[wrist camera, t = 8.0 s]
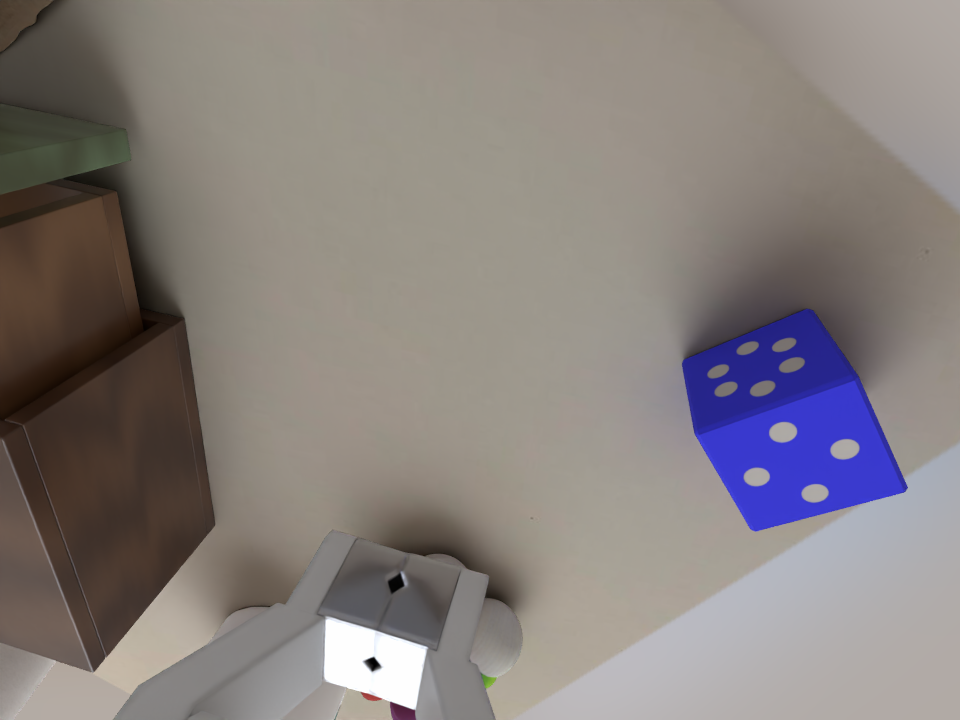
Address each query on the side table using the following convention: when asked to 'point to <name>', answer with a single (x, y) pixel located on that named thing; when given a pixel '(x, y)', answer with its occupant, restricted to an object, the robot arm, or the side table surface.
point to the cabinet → (101, 497)
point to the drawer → (59, 254)
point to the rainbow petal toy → (481, 643)
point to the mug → (315, 710)
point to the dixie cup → (19, 678)
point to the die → (789, 424)
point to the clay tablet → (17, 18)
